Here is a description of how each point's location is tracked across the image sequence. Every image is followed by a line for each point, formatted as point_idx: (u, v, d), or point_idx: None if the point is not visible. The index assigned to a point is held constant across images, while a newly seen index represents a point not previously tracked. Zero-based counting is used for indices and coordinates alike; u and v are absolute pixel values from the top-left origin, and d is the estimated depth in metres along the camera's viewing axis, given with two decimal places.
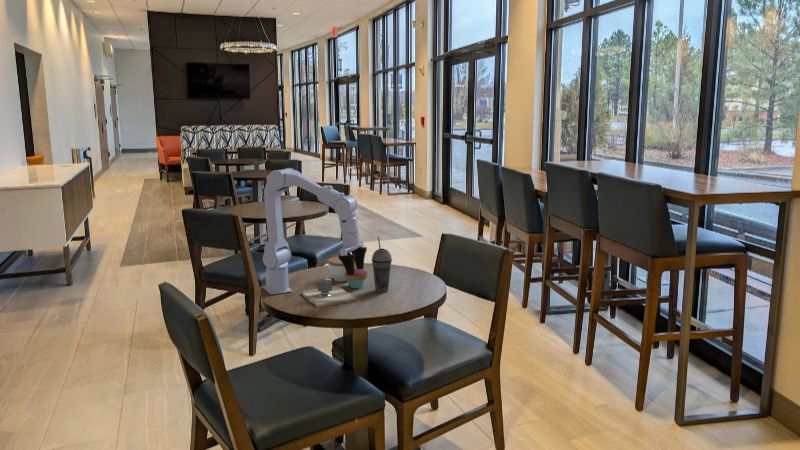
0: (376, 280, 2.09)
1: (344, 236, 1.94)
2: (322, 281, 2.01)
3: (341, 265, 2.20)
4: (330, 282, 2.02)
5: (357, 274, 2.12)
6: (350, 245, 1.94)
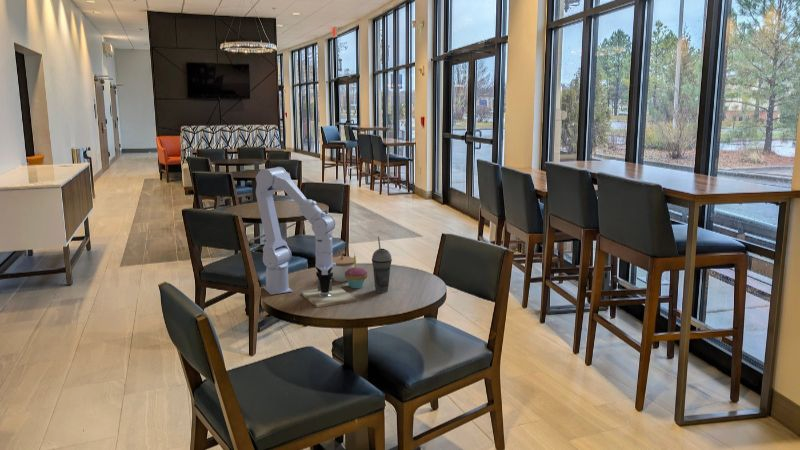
0: (376, 280, 2.09)
1: (321, 255, 1.98)
2: None
3: (341, 265, 2.20)
4: (330, 282, 2.02)
5: (357, 274, 2.12)
6: (326, 264, 1.99)
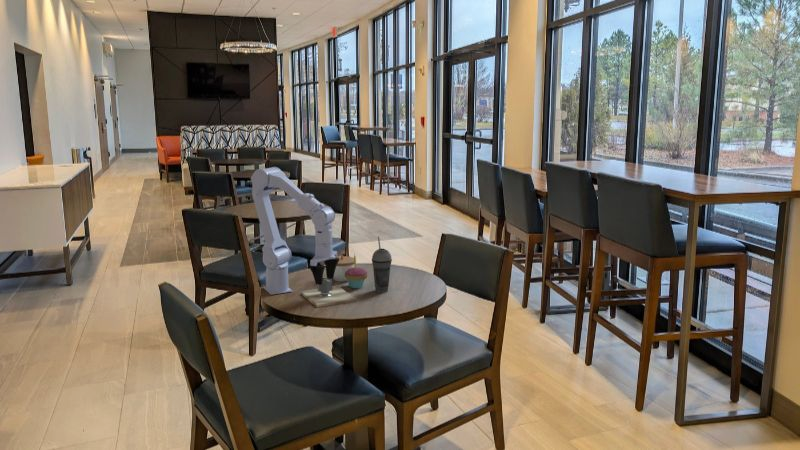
0: (376, 280, 2.09)
1: (317, 246, 1.98)
2: None
3: (341, 265, 2.20)
4: (325, 283, 2.00)
5: (357, 274, 2.12)
6: (322, 256, 1.98)
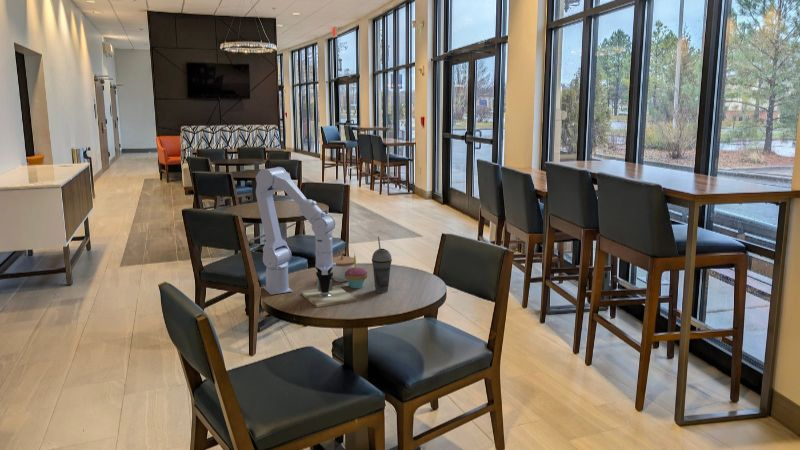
0: (376, 280, 2.09)
1: (321, 255, 1.98)
2: None
3: (341, 265, 2.20)
4: None
5: (357, 274, 2.12)
6: (326, 264, 1.99)
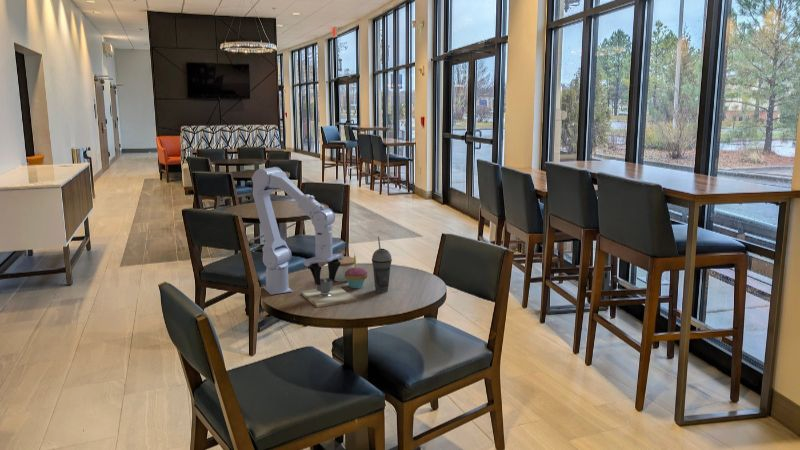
0: (376, 280, 2.09)
1: None
2: (320, 279, 2.03)
3: (341, 265, 2.20)
4: (320, 283, 2.01)
5: (357, 274, 2.12)
6: (318, 257, 1.99)
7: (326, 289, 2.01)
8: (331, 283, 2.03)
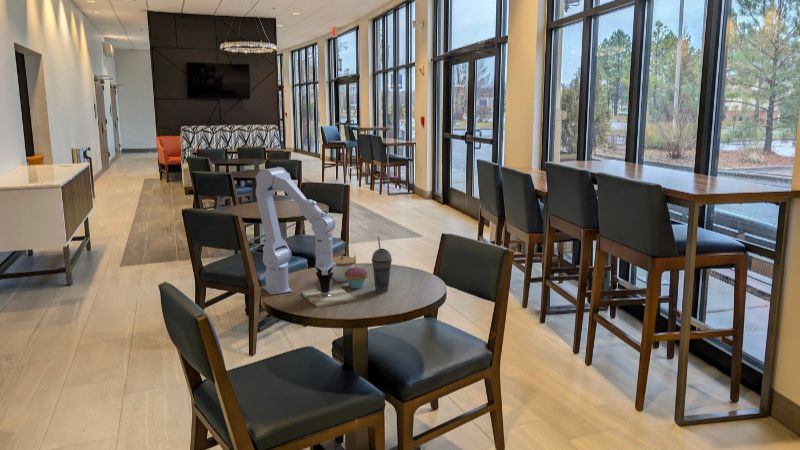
0: (376, 280, 2.09)
1: (321, 255, 1.98)
2: None
3: (341, 265, 2.20)
4: None
5: (357, 274, 2.12)
6: (326, 264, 1.99)
7: None
8: (331, 283, 2.03)
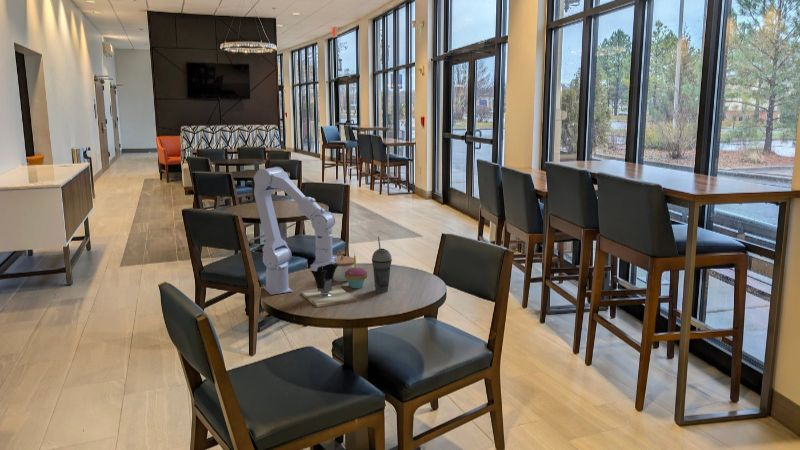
0: (376, 280, 2.09)
1: (317, 251, 1.99)
2: None
3: (341, 265, 2.20)
4: None
5: (357, 274, 2.12)
6: (322, 261, 1.99)
7: (321, 289, 2.01)
8: (328, 284, 2.01)
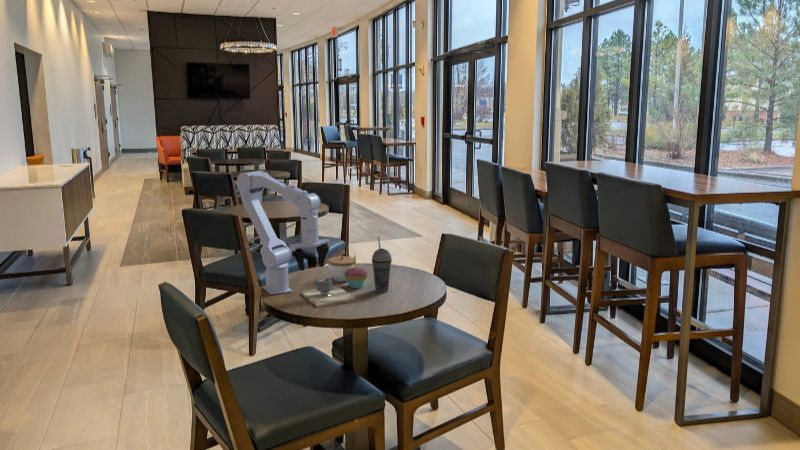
0: (376, 280, 2.09)
1: (301, 232, 1.99)
2: (324, 279, 2.04)
3: (341, 265, 2.20)
4: None
5: (357, 274, 2.12)
6: (304, 242, 1.98)
7: (319, 288, 2.02)
8: (325, 285, 2.01)
